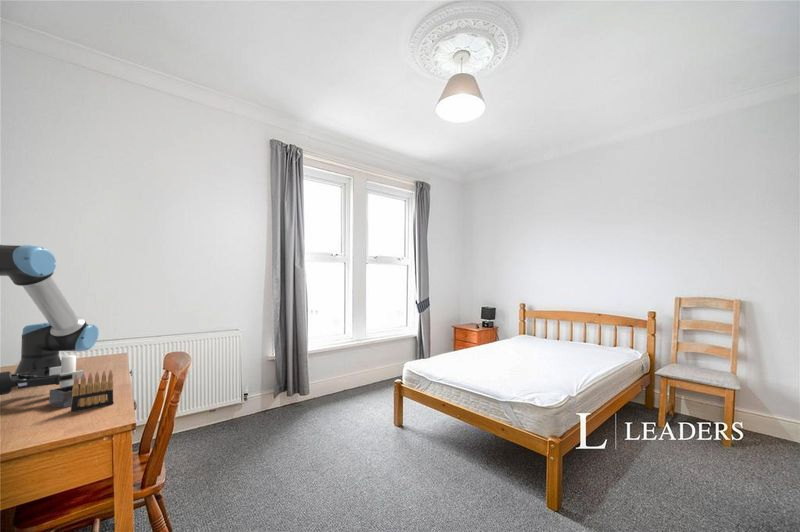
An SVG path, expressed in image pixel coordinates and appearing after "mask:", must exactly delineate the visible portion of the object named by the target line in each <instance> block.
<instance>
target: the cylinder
mask: <svg viewBox="0 0 800 532" xmlns="http://www.w3.org/2000/svg"><path fill="white" fill-rule="evenodd" d="M76 369H77V355H76V354H75V355H74V354H71V355H64V356H61V374H63V373H69V372H75V371H77V370H76ZM73 384H74V380H69V381H63V382H60V384H59V388H61V387H66V386H70V385H73Z"/></svg>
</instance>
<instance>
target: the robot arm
mask: <svg viewBox="0 0 800 532" xmlns="http://www.w3.org/2000/svg"><path fill="white" fill-rule="evenodd" d="M55 263H57V261H56V258H55V256H54V254H53V252H51V250H49V249H47V248H45V247H43V246H37V245H31V244H24V245H12V244H11V245H10V244H7V245H6V244H0V277H2V276H3V277H4V276H5V277H9V279H10V280H11V281H12V283H13V284H14V285H15V286H18V287H23V289H24V290H25V292H26V293H27V294H28V296H29V297H30V298H31V300H32V302H33V303H34V304H35V305H36V307H37V308H38V310H39V311H40V312H41V314H42V315H43V317H44V318H45V319H46V321H47V322H43V323H42V322H41V323H35V324H29V325H27V324H26V325H25V326H24V327H23V328H22V333H21V351H20V354H21V357H20V361H19V362H18V365H17V367H16V369H15V371H14V373H12V372H11V371H2V372H0V396H3V395H8V394H11V391H12V389H13V388H14V387H17V390H18V389H20V390H21V389H24V388H32V387H33V388H34V387H43V386H44V387H45V386H51V385H52V386H54V385H56V386H60V382H63V381H69V380H74V378H75V376H76V374H77V375H78V379H80V380H81V377H82V375H83V374H85V370H83V369H81V370H76V371H75V372H69V373H63V374H61V361H62V359H61V357H60V352H84V351H88V350H90V349H92V348H93V347H94V346H95V345H96V343H97V341H98V339H99V332H100V331H99V327H97V325H95V324H88V323H87V322H86V320H85V319H84V318H83V317H81V316H78V315H76V313H75V311H74V310H73V308H72V307H71V305H70V303H69V302H68V300H67V299H66V296H64V294H63V292H62V291H61V289H60V288H59V286H58V285H57V283H56V282H55V280H54V278H53V275H54V273H55V269H56V267H57V265H56V264H55Z"/></svg>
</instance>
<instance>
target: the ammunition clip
mask: <svg viewBox="0 0 800 532" xmlns="http://www.w3.org/2000/svg"><path fill="white" fill-rule="evenodd" d="M106 372H107V371H106V370H103V372H102V374H101V380H100V373H99V371H96V372H95V376H94V378H93V374H92V372H89V374H88V378H87V377H86V375H85V373H84V374H83V375H82V377H81V378H80V381H79V379H78V375H77V374H76V376H75V378H74V384H73V389H72V405H71V406H70V413H75V412H79V411H80V412H81V411H85V410H90V409H96V408H101V407H106V406H111V405H114V374H113V370H112V369H110V370H109V372H108V378H107V373H106ZM86 378H87V380H86ZM93 379H94V380H93ZM93 381H94V382H93ZM79 384H80V391H79ZM86 385H87V391H86Z"/></svg>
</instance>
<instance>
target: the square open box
mask: <svg viewBox="0 0 800 532" xmlns="http://www.w3.org/2000/svg"><path fill="white" fill-rule="evenodd" d="M80 384H81V383H79V391H80ZM72 389H73V385H70V386H66V387H61V388H60V387H57V388H55V389H54V388H53V389H50V390H49V397H48V398H49V402H48V405H49V406H52V407H57V408H61V409H65V408H69V407H71V405H72ZM86 391H87V384H86Z"/></svg>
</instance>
